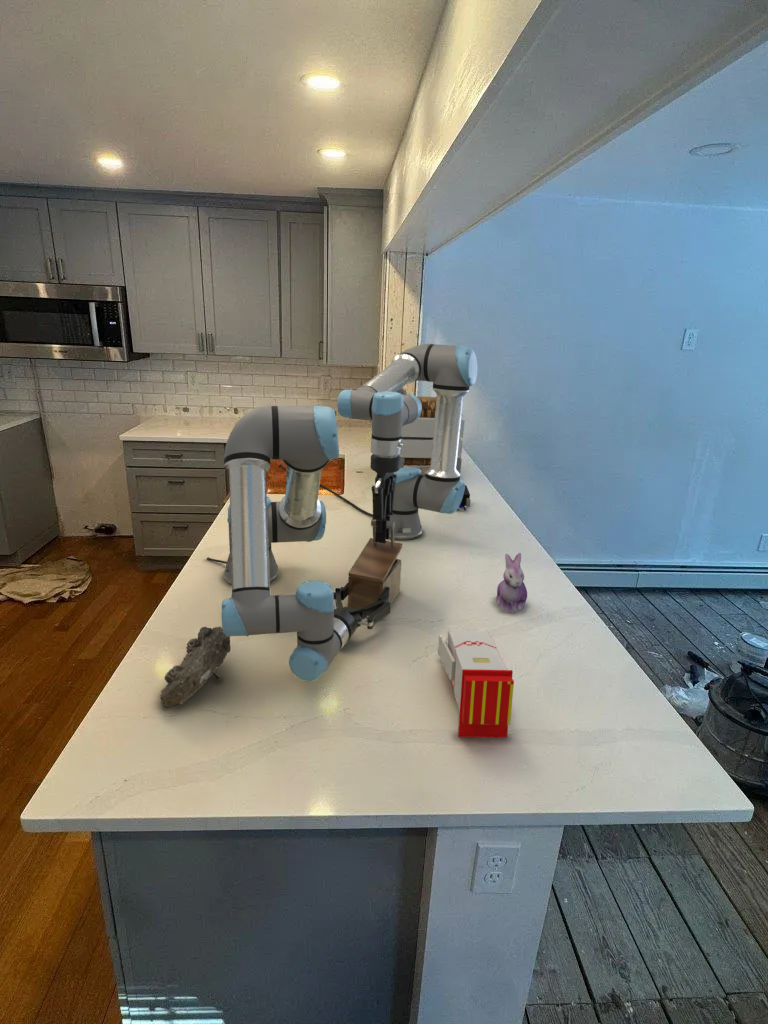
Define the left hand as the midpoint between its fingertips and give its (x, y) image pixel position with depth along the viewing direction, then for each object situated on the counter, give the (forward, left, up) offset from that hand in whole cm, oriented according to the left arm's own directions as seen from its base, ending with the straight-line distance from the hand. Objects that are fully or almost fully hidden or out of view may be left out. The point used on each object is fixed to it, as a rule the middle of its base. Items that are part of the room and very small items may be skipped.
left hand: (369, 588), depth 147 cm
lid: (0, +5, +6) cm, 7 cm away
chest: (0, +4, -6) cm, 8 cm away
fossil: (-22, -41, -6) cm, 47 cm away
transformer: (-24, +133, -6) cm, 135 cm away
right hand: (0, +9, +10) cm, 13 cm away
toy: (+31, -24, -6) cm, 40 cm away
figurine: (+35, +17, -6) cm, 39 cm away
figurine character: (+5, +93, -6) cm, 93 cm away
